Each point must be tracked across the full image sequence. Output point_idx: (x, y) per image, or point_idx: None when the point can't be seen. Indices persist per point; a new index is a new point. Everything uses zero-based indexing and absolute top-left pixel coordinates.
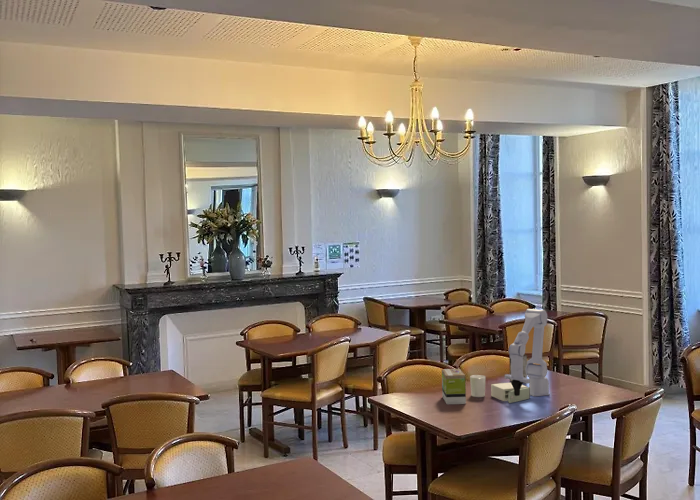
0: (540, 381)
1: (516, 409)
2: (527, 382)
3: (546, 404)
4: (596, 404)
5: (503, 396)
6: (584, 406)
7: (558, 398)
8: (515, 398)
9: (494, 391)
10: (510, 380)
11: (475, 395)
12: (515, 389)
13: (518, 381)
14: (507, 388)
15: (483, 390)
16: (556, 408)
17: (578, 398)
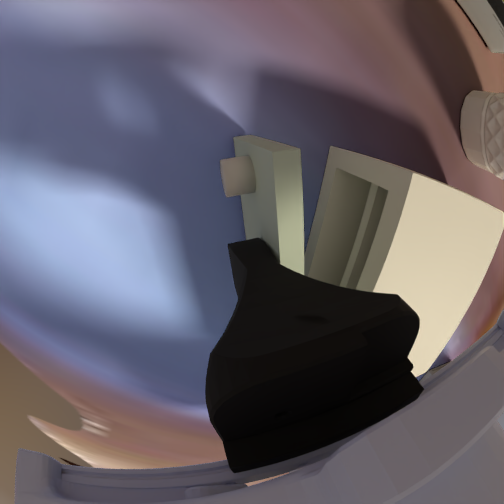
0: (301, 468)
1: (34, 85)
2: (24, 470)
3: (103, 367)
4: (85, 454)
5: (356, 155)
6: (59, 431)
7: (200, 434)
8: (251, 233)
9: (458, 189)
10: (449, 362)
11: (478, 92)
12: (250, 277)
13: (243, 450)
14: (403, 248)
15: (491, 136)
16: (19, 356)
17: (172, 459)
